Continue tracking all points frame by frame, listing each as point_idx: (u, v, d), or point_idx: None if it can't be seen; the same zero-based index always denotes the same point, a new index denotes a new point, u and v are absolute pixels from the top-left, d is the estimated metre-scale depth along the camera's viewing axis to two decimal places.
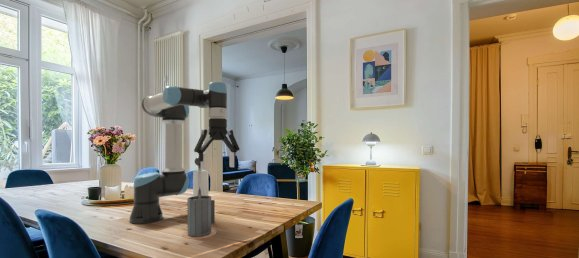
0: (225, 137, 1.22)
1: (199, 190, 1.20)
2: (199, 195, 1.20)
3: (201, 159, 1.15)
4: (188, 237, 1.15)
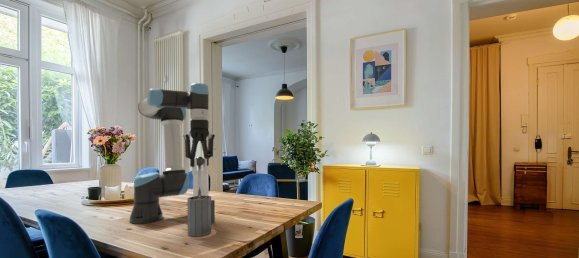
0: (204, 139, 1.22)
1: (199, 190, 1.20)
2: (199, 195, 1.20)
3: (192, 165, 1.19)
4: (188, 237, 1.15)
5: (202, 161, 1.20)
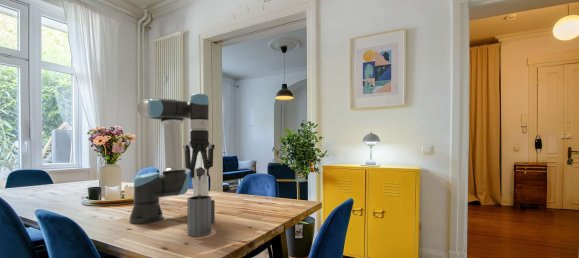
0: (204, 150, 1.22)
1: None
2: None
3: (192, 175, 1.18)
4: (188, 237, 1.15)
5: (202, 172, 1.20)
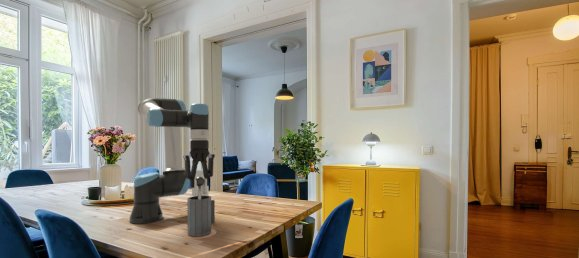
0: (205, 159, 1.21)
1: None
2: None
3: (192, 185, 1.18)
4: (188, 237, 1.15)
5: (202, 182, 1.20)
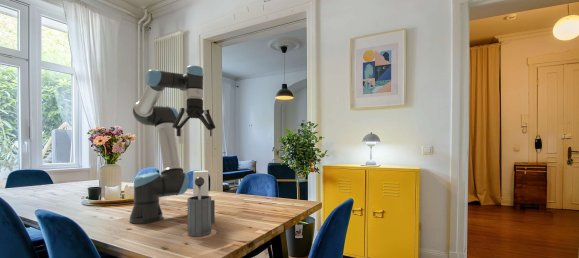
0: (201, 115, 1.35)
1: None
2: None
3: (179, 134, 1.28)
4: (188, 237, 1.15)
5: (202, 182, 1.20)
